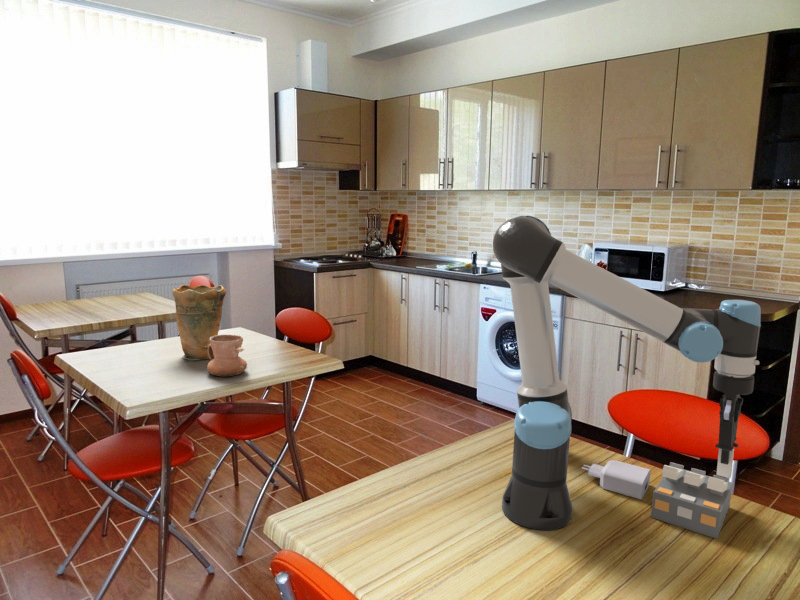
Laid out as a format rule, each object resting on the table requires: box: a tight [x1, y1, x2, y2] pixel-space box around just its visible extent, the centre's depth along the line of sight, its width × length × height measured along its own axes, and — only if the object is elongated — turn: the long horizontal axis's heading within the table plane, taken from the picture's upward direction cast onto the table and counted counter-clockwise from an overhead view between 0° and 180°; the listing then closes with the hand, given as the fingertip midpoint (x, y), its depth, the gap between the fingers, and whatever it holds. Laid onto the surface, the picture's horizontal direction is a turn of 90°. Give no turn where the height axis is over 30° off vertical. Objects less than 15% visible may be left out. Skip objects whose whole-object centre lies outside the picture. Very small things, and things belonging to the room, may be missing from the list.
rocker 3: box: [707, 474, 729, 492], centre depth 125 cm, size 8×3×2 cm, turn 143°
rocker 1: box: [661, 461, 685, 480], centre depth 130 cm, size 8×3×2 cm, turn 143°
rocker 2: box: [684, 467, 707, 487], centre depth 128 cm, size 8×3×2 cm, turn 143°
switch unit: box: [650, 469, 733, 539], centre depth 128 cm, size 16×13×7 cm
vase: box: [172, 284, 227, 361], centre depth 240 cm, size 21×20×30 cm
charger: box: [581, 459, 651, 500], centre depth 141 cm, size 5×9×15 cm
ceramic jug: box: [206, 334, 248, 377], centre depth 219 cm, size 18×14×14 cm
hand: (723, 475), depth 128 cm, fingers closed
